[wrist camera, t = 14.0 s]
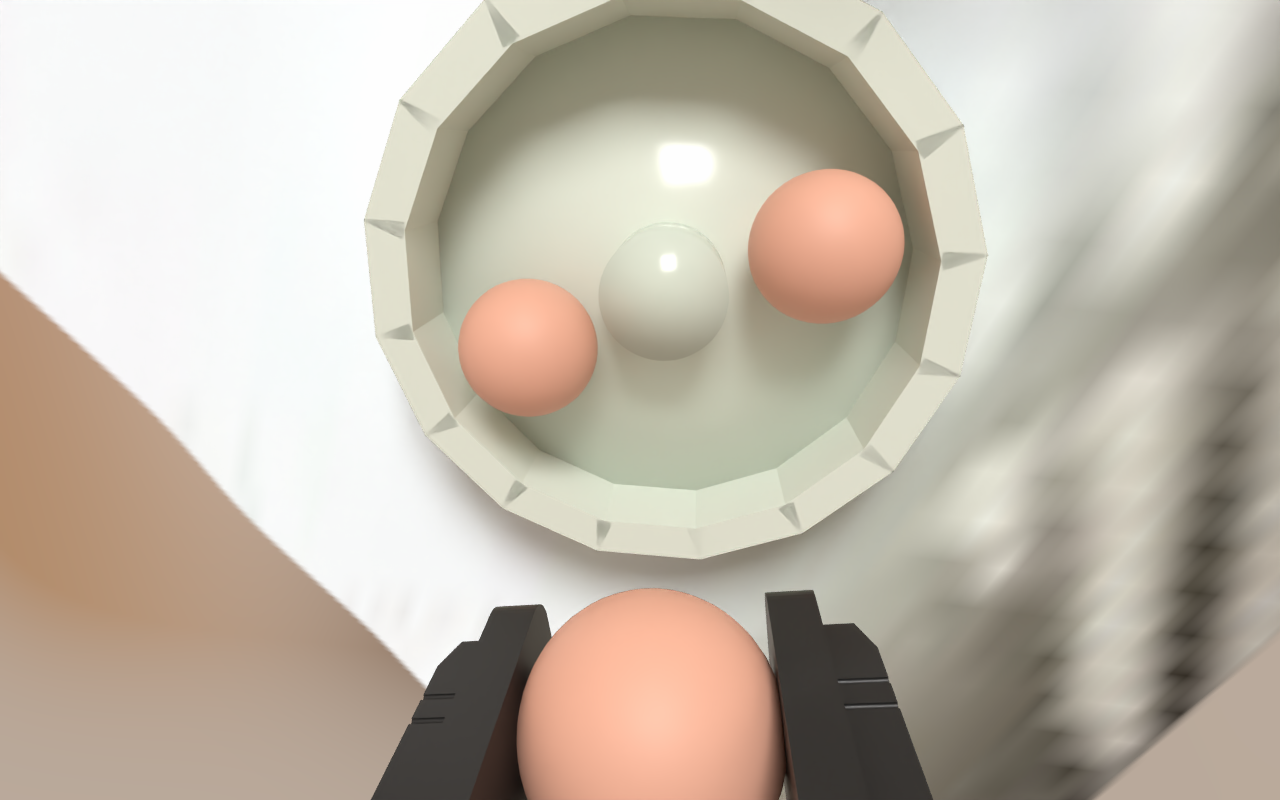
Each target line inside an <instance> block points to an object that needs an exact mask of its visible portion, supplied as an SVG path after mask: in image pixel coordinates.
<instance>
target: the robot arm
mask: <svg viewBox="0 0 1280 800" xmlns="http://www.w3.org/2000/svg"><path fill="white" fill-rule="evenodd" d="M765 607H766V621H767V635H768V648H769V662H770V666H771V668H772V670H773V672H774V674H775V676H776V680H777V686H778V692H779V700H780V707H781V715H782V724H783V734H784V744H785V756H786V775H785V779H784V785H785V792H786V799H787V800H933V798H932V795H931V793H930V790H929V787H928V784H927V782H926V779H925V776H924V773H923V771H922V768H921V765H920V762H919V760H918V757H917V754H916V752H915V749H914V746H913V743H912V741H911V738H910V735H909V732H908V730H907V727H906V724H905V721H904V719H903V716H902V713H901V711H900V709H899V708H898V704H897V700H896V697H895V694H894V691H893V689H892V686H891V683H889V680H888V675H887V672H886V669H885V667H884V664H883V661H882V659H881V656H880V653H879V650H878V648H877V646H876V645H875V644H874V643H873V642H872V641H871V640H870V639H869V638H868V637H867V636H866V635H865V634H864V633H863V632H862V631H861V630H860V629H859V628H858V627H857V626H856V625H855V624H854V623H850V624H829V625H823V623H822V620H821V616H820V612H819V609H818V605H817V601H816V597H815V594H814V591H813V590H804V591H786V592H767V593H765ZM551 638H552V637H551V632H550V627H549V622H548V618H547V613H546V610H545V608H544V607H543V605H541V604H538V605H520V606H502V607H495V608H494V609H493V611H492V612H491V614H490V617H489V619H488V621H487V623H486V626H485V628H484V630H483V632H482V635H481V637H480V639H479V641H468V642H461V643H460V644H459V645H458V646H457V647H456V648H455V649H454V650H453V651H452V652H451V653H450V654H449V655H448V656H447V657H446V658H445V659H444V660H443V661H442V662H441V663H440V664H439V665H438V667H437V669H436V671H435V673H434V675H433V677H432V679H431V681H430V683H429V685H428V687H427V689H426V691H425V693H424V699H423V700H421V701H420V703H419V705H418V707H417V709H416V711H415V713H414V715H413V717H412V723H411V724H409V725H408V727H407V729H406V731H405V733H404V735H403V737H402V739H401V741H400V743H399V745H398V747H397V749H396V751H395V753H394V755H393V757H392V759H391V761H390V763H389V765H388V767H387V769H386V771H385V773H384V775H383V777H382V779H381V781H380V783H379V785H378V787H377V789H376V791H375V793H374V795H373V797H372V799H371V800H527V797H526V794H525V791H524V788H523V784H522V780H521V777H520V771H519V765H518V757H517V722H518V714H519V708H520V704H521V699H522V695H523V691H524V688H525V686H526V683H527V680H528V678H529V675H530V673H531V670H532V668H533V666H534V664H535V662H536V660H537V659H538V657H539V655H540V654H541V652H542V650H543V649H544V647H545V646H546V644H547V643H548V642H549V640H550V639H551Z"/></svg>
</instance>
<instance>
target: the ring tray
mask: <svg viewBox="0 0 1280 800" xmlns="http://www.w3.org/2000/svg"><path fill="white" fill-rule="evenodd" d="M821 169H841V170H847V171H851V172H855V173H857V174H860V175H862V176H864V177H866V178H868V179H870V180H871V181H873V182H875V183H876V184H877V185H878V186H880V187H881V188H882V189H883V190H884V191H885V192H886V193H887V194H888V196H889V197H890V198H891V200H892V201H893V203H894V204H895V206H896V208H897V210H898V213H899V215H900V217H901V221H902V224H903V229H904V240H905V246H904V254H903V259H902V263H901V266H900V269H899V271H898V274H897V276H896V278H895V280H894V281H893V283H892V285H891V286H890V288H889V289H888V291H887V292H886V293H885V294H884V295H883V296H882V297H881V299H880V300H879V301H877V302H876V303H875V304H874V305H873V306H872V307H870V308H869V309H867V310H866V311H864V312H862V313H861V314H859V315H857V316H855V317H852V318H850V319H847V320H844V321H840V322H836V323H828V324H816V323H808V322H804V321H800V320H796V319H794V318H791V317H789V316H787V315H785V314H783V313H782V312H780V311H779V310H777V309H776V308H775V307H773V306H772V305H771V304H770V303H769V302H768V301H767V300H766V299H765V298H764V296H763V295H762V294H761V292H760V291H759V289H758V287H757V286H756V284H755V282H754V279H753V277H752V274H751V271H750V266H749V260H748V241H749V235H750V231H751V228H752V224H753V222H754V219H755V217H756V215H757V213H758V211H759V210H760V208H761V206H762V205H763V204H764V202H765V201H766V200H767V198H768V197H769V196H770V195H771V194H772V193H773V192H774V191H775V190H776V189H778V188H779V187H780V186H781V185H783V184H784V183H786V182H787V181H789V180H791V179H792V178H794V177H797V176H799V175H801V174H804V173H807V172H811V171H815V170H821ZM364 225H365V235H366V244H367V254H368V264H369V274H370V284H371V294H372V304H373V313H374V323H375V333H376V338H377V340H378V342H379V344H380V346H381V348H382V350H383V352H384V354H385V356H386V358H387V360H388V362H389V364H390V366H391V368H392V370H393V372H394V374H395V376H396V378H397V380H398V382H399V384H400V386H401V388H402V390H403V392H404V394H405V396H406V398H407V400H408V402H409V404H410V406H411V408H412V410H413V412H414V414H415V416H416V418H417V420H418V422H419V424H420V426H421V428H422V430H423V432H424V434H425V436H426V437H428V438H429V439H430V440H431V441H432V442H433V443H434V444H435V445H436V446H437V447H438V448H439V449H440V450H441V451H442V452H443V453H444V454H446V455H447V456H448V457H449V458H450V459H451V460H452V461H453V462H454V463H455V464H456V465H457V466H458V467H459V468H460V469H461V470H462V471H464V472H465V473H466V474H467V475H468V476H469V477H470V478H471V479H472V480H473V481H474V482H475V483H476V484H477V485H478V486H479V487H480V488H482V489H483V490H484V491H485V492H486V493H487V494H488V495H489V496H490V497H491V498H492V499H493V500H494V501H495V502H496V503H497V504H498V505H500V506H501V507H502V508H503V509H505V510H507V511H509V512H512V513H514V514H516V515H518V516H521V517H523V518H525V519H527V520H530V521H532V522H534V523H536V524H539V525H541V526H543V527H545V528H548V529H550V530H552V531H554V532H557V533H559V534H561V535H563V536H566V537H568V538H570V539H572V540H574V541H577V542H579V543H581V544H583V545H586V546H588V547H590V548H592V549H595V550H596V551H608V552H619V553H631V554H642V555H654V556H666V557H677V558H689V559H699V560H701V559H704V558H708V557H712V556H716V555H720V554H724V553H727V552H731V551H735V550H739V549H743V548H747V547H751V546H755V545H759V544H763V543H766V542H770V541H774V540H778V539H782V538H786V537H790V536H794V535H798V534H802V533H804V532H805V531H806V530H808V529H809V528H811V527H812V526H814V525H815V524H817V523H818V522H820V521H821V520H823V519H824V518H826V517H827V516H829V515H830V514H831V513H833V512H834V511H836V510H837V509H839V508H840V507H842V506H843V505H845V504H846V503H848V502H849V501H851V500H852V499H854V498H855V497H856V496H858V495H859V494H861V493H862V492H864V491H865V490H867V489H868V488H870V487H871V486H873V485H874V484H876V483H877V482H879V481H880V480H881V479H883V478H884V477H886V476H887V475H889V474H890V473H892V472H893V471H894V470H895V468H896V467H897V465H898V464H899V463H900V461H901V460H902V458H903V457H904V455H905V454H906V453H907V451H908V450H909V448H910V447H911V445H912V444H913V443H914V441H915V440H916V438H917V437H918V435H919V434H920V433H921V431H922V430H923V428H924V427H925V425H926V424H927V423H928V421H929V420H930V418H931V417H932V415H933V414H934V413H935V411H936V410H937V408H938V407H939V405H940V404H941V403H942V401H943V400H944V398H945V397H946V395H947V394H948V393H949V391H950V390H951V388H952V387H953V385H954V384H955V383H956V381H957V380H958V378H959V377H960V374H961V369H962V365H963V361H964V356H965V352H966V348H967V343H968V339H969V335H970V330H971V326H972V322H973V317H974V313H975V308H976V304H977V300H978V295H979V291H980V287H981V282H982V278H983V274H984V269H985V265H986V261H987V256H988V254H987V248H986V243H985V238H984V232H983V227H982V222H981V216H980V211H979V206H978V200H977V195H976V190H975V184H974V179H973V174H972V168H971V163H970V158H969V152H968V147H967V142H966V136H965V131H964V125H963V124H962V122H961V121H960V120H959V118H958V117H957V116H956V114H955V113H954V111H953V110H952V109H951V107H950V106H949V104H948V103H947V102H946V100H945V99H944V97H943V96H942V95H941V93H940V92H939V90H938V89H937V88H936V86H935V85H934V83H933V82H932V81H931V79H930V78H929V76H928V75H927V74H926V72H925V71H924V69H923V68H922V67H921V65H920V64H919V62H918V61H917V60H916V58H915V57H914V55H913V54H912V53H911V51H910V50H909V48H908V47H907V46H906V44H905V43H904V42H903V40H902V39H901V37H900V36H899V35H898V33H897V32H896V30H895V29H894V28H893V26H892V25H891V23H890V22H889V21H888V19H887V18H886V16H885V15H884V14H883V12H882V11H880V10H878V9H876V8H874V7H872V6H870V5H869V4H867V3H865V2H863V1H861V0H484V1H483V2H482V3H481V4H480V5H479V6H478V8H477V9H476V10H475V11H474V12H473V14H472V15H471V16H470V17H469V18H468V19H467V21H466V22H465V23H464V24H463V25H462V27H461V28H460V29H459V30H458V31H457V33H456V34H455V35H454V36H453V37H452V38H451V40H450V41H449V42H448V43H447V44H446V46H445V47H444V48H443V49H442V50H441V51H440V53H439V54H438V55H437V56H436V57H435V59H434V60H433V61H432V62H431V63H430V65H429V66H428V67H427V68H426V69H425V70H424V72H423V73H422V74H421V75H420V76H419V78H418V79H417V80H416V81H415V82H414V83H413V85H412V86H411V87H410V88H409V89H408V91H407V92H406V93H405V94H404V95H403V96H402V98H401V99H400V100H399V103H398V107H397V110H396V113H395V117H394V120H393V124H392V127H391V130H390V134H389V137H388V141H387V144H386V147H385V151H384V154H383V158H382V161H381V164H380V168H379V171H378V174H377V178H376V181H375V185H374V188H373V191H372V195H371V198H370V202H369V205H368V208H367V212H366V215H365V219H364ZM517 279H538V280H543V281H547V282H550V283H553V284H555V285H557V286H559V287H561V288H563V289H565V290H566V291H568V292H569V293H571V294H572V295H573V296H574V297H575V298H576V299H577V300H578V301H579V302H580V303H581V304H582V305H583V307H584V308H585V309H586V311H587V313H588V314H589V316H590V318H591V320H592V322H593V325H594V328H595V332H596V336H597V342H598V354H597V362H596V365H595V369H594V372H593V374H592V377H591V379H590V381H589V383H588V384H587V386H586V387H585V389H584V390H583V391H582V392H581V394H580V395H579V396H578V397H577V398H576V399H575V400H573V401H572V402H571V403H569V404H568V405H567V406H565V407H563V408H561V409H559V410H558V411H555V412H552V413H550V414H546V415H541V416H533V417H525V416H516V415H511V414H508V413H505V412H502V411H500V410H498V409H496V408H494V407H492V406H491V405H489V404H488V403H487V402H485V401H484V400H483V399H482V398H481V397H479V396H478V395H477V394H476V393H475V391H474V390H473V389H472V388H471V386H470V384H469V383H468V381H467V379H466V378H465V375H464V373H463V371H462V368H461V364H460V360H459V352H458V340H459V334H460V329H461V326H462V323H463V320H464V318H465V316H466V314H467V313H468V311H469V309H470V308H471V306H472V305H473V304H474V303H475V301H476V300H477V299H478V298H479V297H480V296H482V295H483V294H484V293H485V292H487V291H488V290H489V289H491V288H493V287H495V286H496V285H499V284H501V283H504V282H507V281H511V280H517Z"/></svg>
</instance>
